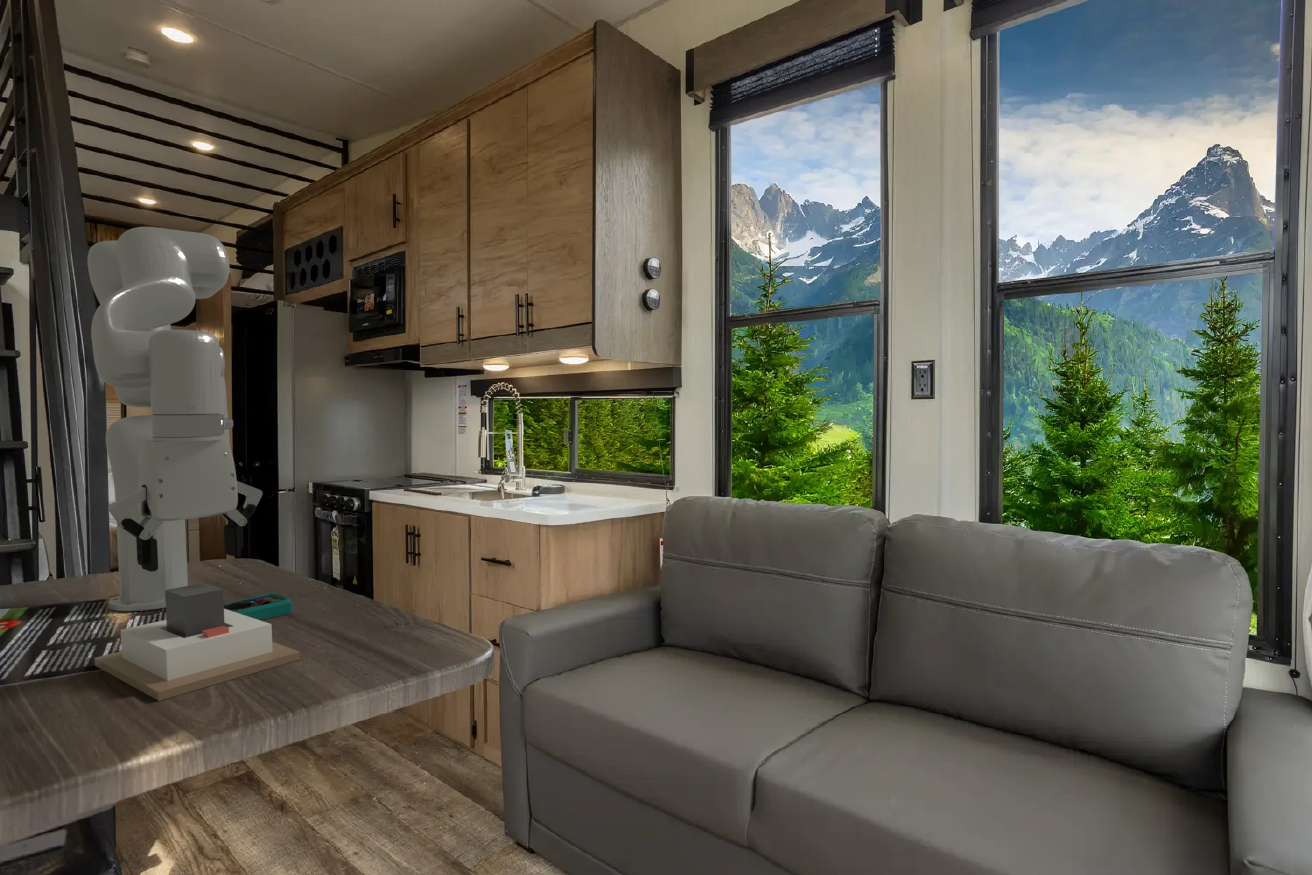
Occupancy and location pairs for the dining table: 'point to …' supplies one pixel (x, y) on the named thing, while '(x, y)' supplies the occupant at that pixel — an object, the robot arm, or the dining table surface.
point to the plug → (194, 609)
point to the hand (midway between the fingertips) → (193, 562)
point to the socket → (194, 656)
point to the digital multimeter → (261, 606)
